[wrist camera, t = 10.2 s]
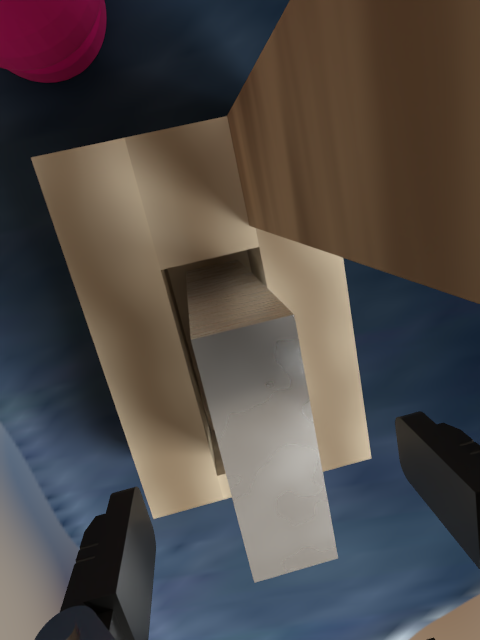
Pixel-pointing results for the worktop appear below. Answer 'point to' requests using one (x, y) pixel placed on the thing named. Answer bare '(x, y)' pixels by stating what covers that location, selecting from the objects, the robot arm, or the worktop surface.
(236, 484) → the grey stone slab
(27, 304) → the worktop surface
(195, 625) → the worktop surface
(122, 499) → the robot arm
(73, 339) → the worktop surface
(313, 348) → the wooden l-shaped stand
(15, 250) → the worktop surface
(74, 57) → the pepper mill
